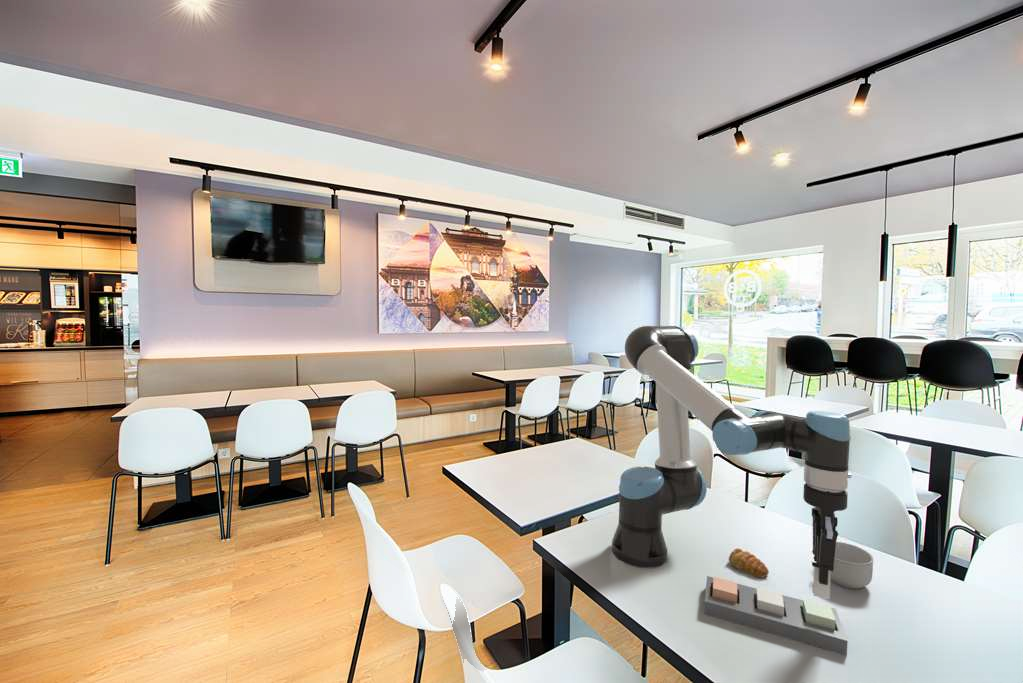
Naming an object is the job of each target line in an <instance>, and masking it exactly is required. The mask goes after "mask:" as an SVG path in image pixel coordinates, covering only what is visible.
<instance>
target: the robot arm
mask: <svg viewBox="0 0 1023 683" xmlns="http://www.w3.org/2000/svg"><path fill="white" fill-rule="evenodd" d="M624 354H625V357H626V359H627V361H628V362H629V364H630V365H631V366H632V367H633V369H635V370H637V371H638V373H639V374H640V375H643V376H648V377H650V378H651V379H652V380H653V381H654V382H655V388H656V390H655V391H656V407H657V408H656V409H657V427H658V429H657V431H658V444H659V445H658V448H659V457H658V458H657V459H656V460H655V461H654V467H650V466H643V467H642V466H633V467H630V468H627V469H626V470H624V471H623V472H622V473H621V475H620V481H619V485H618V486H619V487H618V490H619V494H618V496H619V498H618V499H619V500H618V502H619V506H618V523H617V527H616V529H615V532H614V535H613V537H612V540H611V552H612V553H613V555H614V557H615V558H617V559H618V560H620V561H621V562H623V563H625V564H627V565H630V566H633V567H639V568H645V569H646V568H656V567H657V568H658V567H660V566H662V565H664V564H666V562H667V560H668V547H667V544H666V541H665V537H664V534H663V531H662V526H663V525H662V521H663V515H667V514H671V513H675V512H679V511H687V510H691V509H693V508H695V507H697V506H699V505H701V503H703V501H705V498H706V495H707V490H708V489H707V488H708V487H707V481H706V478H705V476H704V475H703V472H702V471H701V470H700V469H699V468H698V467H697V466H698V465H697V462H695V460H694V459H693V458H691V444H690V443H691V442H690V426H689V412H690V414H692V415H693V416H694V417H695V418H696V419H698V420H699V421H700V422H701V423H702V424H703V425H705V426H706V427H707V428H708V429H709V430H710V431H711V433H712V440H713V442H714V443H715V444H714V445H715V446H716V448H717V449H718V450H719V451H720V452H722V453H723V454H725V455H730V456H738V455H739V456H740V455H741V456H743V455H745V456H746V455H749V454H751V453H755V452H763V451H769V450H774V449H778V448H779V449H780V448H781V449H786V450H789V451H790V450H791V451H793V452H794V451H795V452H798V453H803V454H804V462H803V463H804V464H803V465H804V466H803V481H804V482H805V483H804V484H803V494H802V495H803V497H802V498H803V500H804V502H805V503H806V504H808V505H809V506H811V516H812V517H811V518H812V550H811V551H812V553H811V554H812V555H813V560H814V561H811V566H812V567H813V583H812V584H813V585H812V586H813V587H812V593H813V596H814V597H818V598H822V599H825V600H830V598H831V571H833V570H834V558H835V548H836V542H837V539H838V536H839V533H838V530H837V527H838V522H839V520H838V517H837V516H836V512H837V511H838V512H841V511H844V510H846V509H847V508H848V491H847V489H848V486H849V485H848V483H849V480H848V479H852V474H851V473H849V459H850V456H849V455H850V441H851V439H852V438H851V430H850V420H849V417H847V416H846V415H845V414H841V413H838V412H831V411H824V410H813V411H808V412H807V413H806V415H805V417H798V416H794V415H788V414H783V413H779V412H776V411H768V410H759V411H756V412H755V413H753V414H752V415H751V416H747V415H746V414H744V413H743V412H742V411H740V410H739V409H738V408H737V407H735V406H734V405H732V403H730V402H729V401H727V399H725V398H723V397H722V395H720V394H719V393H717V392H716V391H715V390H713V389H712V388H711V387H710V386H708V385H707V384H706V383H704V382H703V381H702V380H701V379H699V378H698V377H697V376H696V375H694V374H693V373H692V372H691V371H692V363H693V362H695V360H696V358H697V357H698V355H699V343H698V339H697V338H696V336H695V335H694V333H693V332H691V331H690V329H688V328H686V327H684V326H683V327H682V326H677V325H658V326H657V325H653V326H652V325H643V326H640V327H637V328H635V329H634V330H632V331H631V332H630V333H629V334H628V336H627V338H626V340H625V344H624Z"/></svg>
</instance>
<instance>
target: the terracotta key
mask: <svg viewBox="0 0 1023 683" xmlns="http://www.w3.org/2000/svg"><path fill="white" fill-rule="evenodd" d="M713 578H714V579H713V597H715V598H718V599H722V600H726V601H729V602H733V603H737V584H738V582H736V581H732V580H728V579H724V578H719V577H715V576H713Z"/></svg>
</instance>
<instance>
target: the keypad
mask: <svg viewBox="0 0 1023 683" xmlns="http://www.w3.org/2000/svg"><path fill="white" fill-rule="evenodd" d="M713 579H714V576H710V575H709V576H708V575H707V576H706V586H705V593H704V594H705V595H704V609H703V610H704V611H703V613H704V615H707V616H710V617H714V618H717V619H720V620H722V621H723V620H724V621H726V622H727V621H728V622H730V623H734V624H737V625H741V626H745V627H748V628H750V629H755V630H758V631H762V632H765V633H768V634H770V635H771V634H772V635H776V636H778V637H783V638H786V639H788V640H793V641H795V642H798V643H799V642H800V643H803V644H805V645H810V646H813V647H817V648H819V649H823V650H827V651H830V652H833V653H837V654H841V655H845V656H847V655H848V639H847V635H846V633H845V631H844V627H843V624H842V622H841V619H840V616H839V613H838V611H837V608H834V607H831V609H832V612H833V614H834V617H835V620H836V623H835V630H832V629H829V628H825V627H821V626H818V625H814V624H810V623H806V622H805V618H804V614H803V600H804V599H803V600H802V599H799V598H795V597H792V596H787V595H785V594H782V597H783V602H784V616H781V615H777V614H773V613H770V612H766V611H762V610H759V609H757V602H756V590H757V588H758V587H753V586H748V585H745V584H740V583H737V603H733V602H729V601H726V600H722V599H718V598H715V597H713Z"/></svg>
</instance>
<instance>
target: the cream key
mask: <svg viewBox="0 0 1023 683" xmlns="http://www.w3.org/2000/svg"><path fill="white" fill-rule="evenodd" d="M756 588H757V590H756V602H757V609H759V610H762V611H766V612H770V613H773V614H777V615H781V616H784V602H783V597H782V595H783V594H782V593H778V592H775V591H770V590H767V589H764V588H759V587H756Z"/></svg>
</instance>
